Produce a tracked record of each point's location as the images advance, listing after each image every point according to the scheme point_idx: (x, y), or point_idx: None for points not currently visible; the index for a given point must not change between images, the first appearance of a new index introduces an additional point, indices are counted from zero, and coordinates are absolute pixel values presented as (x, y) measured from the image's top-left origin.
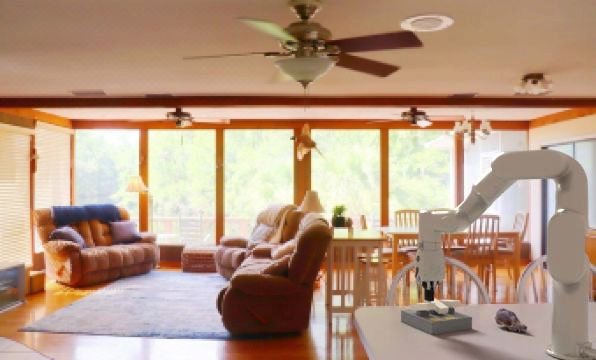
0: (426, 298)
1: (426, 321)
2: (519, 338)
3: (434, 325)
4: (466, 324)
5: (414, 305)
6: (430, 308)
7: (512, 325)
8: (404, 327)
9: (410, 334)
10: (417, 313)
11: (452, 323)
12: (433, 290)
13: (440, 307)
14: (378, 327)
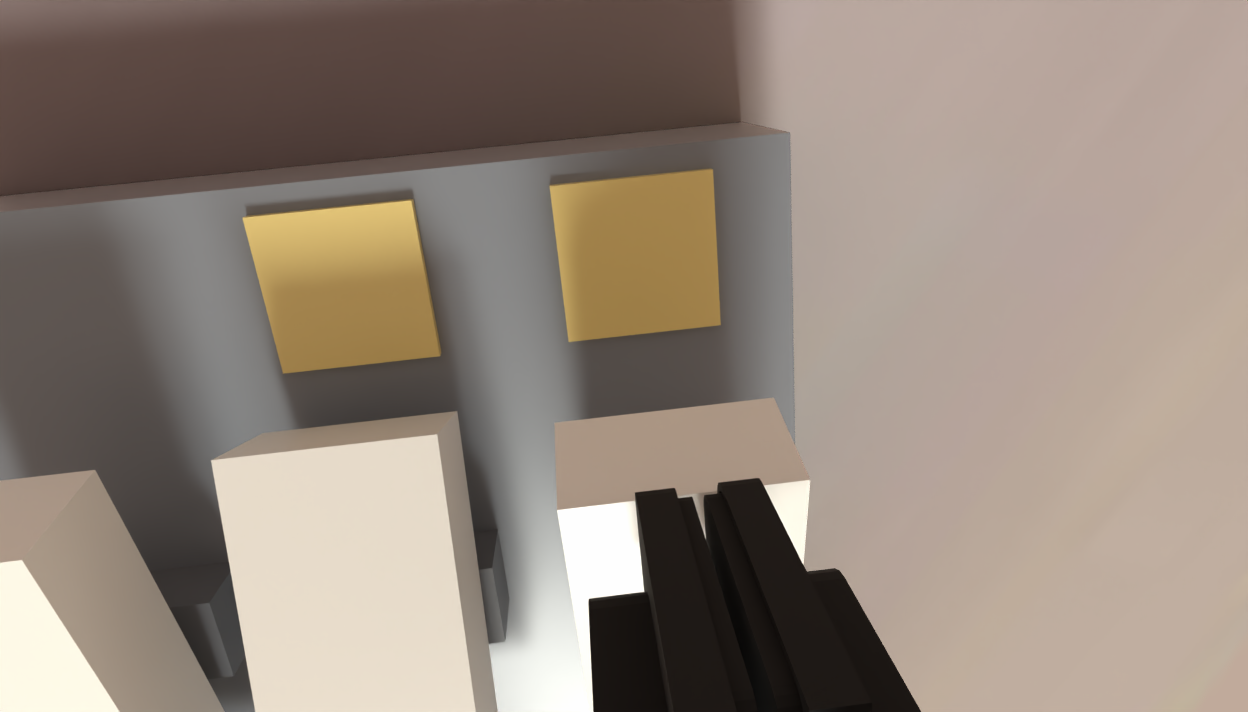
0: (834, 578)
1: (787, 275)
2: None
3: (722, 134)
4: (57, 195)
5: None
6: (696, 420)
7: None
8: (869, 495)
9: (990, 227)
10: None
11: (341, 171)
12: (706, 698)
13: (407, 480)
14: (1133, 566)
